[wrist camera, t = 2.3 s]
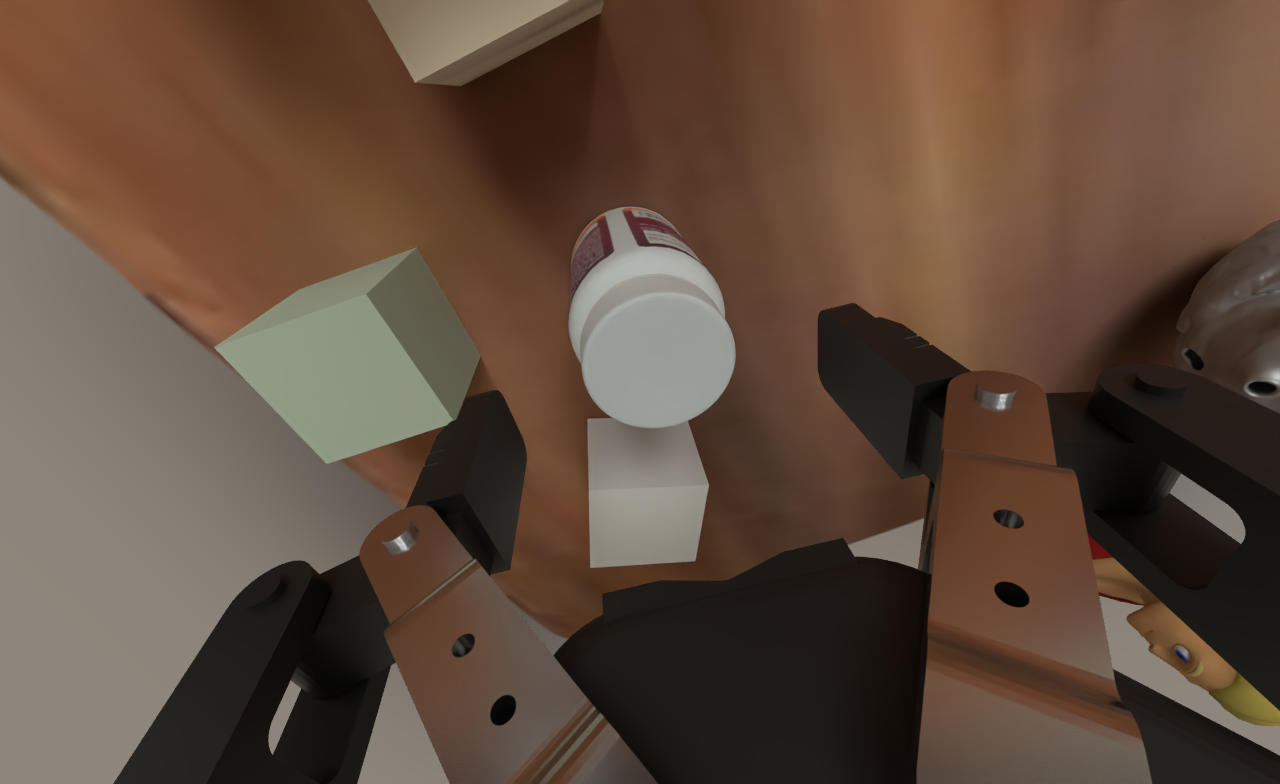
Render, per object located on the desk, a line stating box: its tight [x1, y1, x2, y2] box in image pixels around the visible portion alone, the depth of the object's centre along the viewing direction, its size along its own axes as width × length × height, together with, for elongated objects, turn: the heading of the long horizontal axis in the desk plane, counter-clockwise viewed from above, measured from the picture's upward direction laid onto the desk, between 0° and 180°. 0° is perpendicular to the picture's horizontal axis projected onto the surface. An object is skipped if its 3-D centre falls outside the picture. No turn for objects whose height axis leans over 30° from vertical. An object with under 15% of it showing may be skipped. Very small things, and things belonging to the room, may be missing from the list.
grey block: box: [587, 418, 709, 568], centre depth 22 cm, size 5×5×5 cm
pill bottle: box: [568, 207, 736, 428], centre depth 15 cm, size 5×5×8 cm
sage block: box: [214, 247, 481, 464], centre depth 17 cm, size 5×5×5 cm
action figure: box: [1088, 535, 1280, 726], centre depth 18 cm, size 10×4×15 cm, turn 36°
